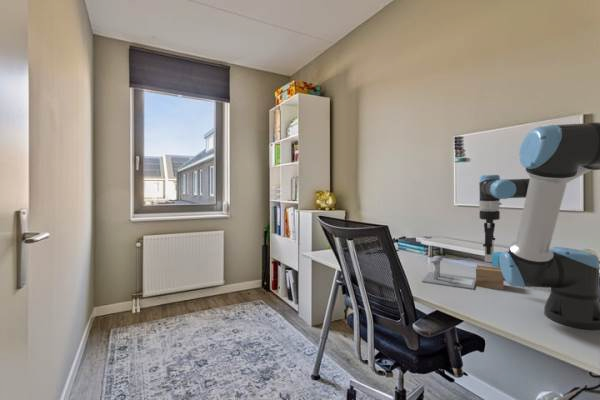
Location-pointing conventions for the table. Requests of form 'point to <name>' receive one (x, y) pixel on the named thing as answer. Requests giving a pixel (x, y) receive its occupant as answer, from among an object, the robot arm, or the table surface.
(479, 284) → the wooden notched block
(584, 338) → the table surface
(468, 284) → the boss board
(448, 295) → the table surface
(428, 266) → the table surface
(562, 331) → the table surface
